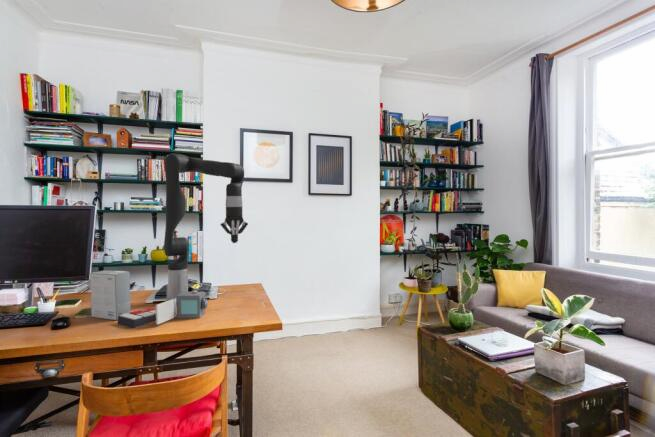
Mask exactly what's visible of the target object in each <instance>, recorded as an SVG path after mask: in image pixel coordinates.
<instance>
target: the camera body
mask: <svg viewBox="0 0 655 437" xmlns="http://www.w3.org/2000/svg"><path fill="white" fill-rule="evenodd" d="M176 297H177V304H176V298H175V299H174V318H176V319H201V318H202V317H203V316H204V315H205V314H206V309H207V307H208V304H209V302H208V298H206V292H205V291H198V290H195V289H194V290H192V291H188V292H182V293H180V294H179V295H177V296H176Z"/></svg>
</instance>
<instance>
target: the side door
mask: <svg viewBox="0 0 655 437" xmlns="http://www.w3.org/2000/svg"><path fill="white" fill-rule="evenodd" d="M155 309H156V321H155V324H156V325H160V324H164V323H165V322H167V321H169V320H173V319H174V318H175V317H174V299H172V300H169V301H167V300H166V301H163V302H160V303H158V304H155Z"/></svg>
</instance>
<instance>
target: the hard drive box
mask: <svg viewBox="0 0 655 437" xmlns="http://www.w3.org/2000/svg"><path fill="white" fill-rule="evenodd" d="M130 275H131V271H126V270H125V271H124V270H107V269H105V270H99V271H94V272H90V273H89V280H90V282H89V284H90V311H91V312H90V313H91V317H92V318H97V319H105V320H112V321H113V320H114V321H118V316H120V315H123V314H127V313H129V312H132V311H131V307H132V306H131V282H130V281H131V278H130Z"/></svg>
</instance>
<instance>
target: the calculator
mask: <svg viewBox="0 0 655 437" xmlns="http://www.w3.org/2000/svg"><path fill="white" fill-rule="evenodd" d="M154 322H156V308H153V307H148V308H143V309H138V310H134V311H131V312H129V313H127V314H123V315H120V316H118V320H117V325H120V326H123V327H126V328H130V329H135V328H138V327H139V328H140V327H142V326H144V325H147V324H148V325H149V324H150V323H154Z"/></svg>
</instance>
